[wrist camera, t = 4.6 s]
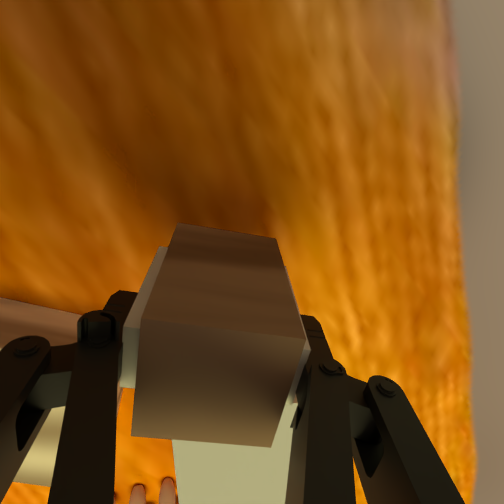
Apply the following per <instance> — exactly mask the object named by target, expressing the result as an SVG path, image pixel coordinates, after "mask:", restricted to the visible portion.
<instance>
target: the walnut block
mask: <svg viewBox="0 0 504 504" xmlns="http://www.w3.org/2000/svg"><path fill="white" fill-rule="evenodd" d="M305 342H306V336H305V333H304V330H303V326H302V323H301V320H300V317H299V313H298V310H297V307H296V303H295V300H294V297H293V293H292V290H291V287H290V283H289V280H288V277H287V273H286V270H285V267H284V264H283V260H282V257H281V254H280V250H279V247H278V244H277V240H276V239H275V238H269V237H263V236H257V235H251V234H245V233H239V232H233V231H227V230H220V229H214V228H208V227H202V226H196V225H190V224H184V223H178V224H177V226H176V229H175V231H174V234H173V237H172V239H171V242H170V244H169V247H168V250H167V252H166V255H165V257H164V260H163V262H162V265H161V268H160V270H159V273H158V275H157V278H156V281H155V283H154V286H153V288H152V291H151V293H150V296H149V299H148V301H147V304H146V306H145V309H144V312H143V314H142V317H141V323H140V335H139V347H138V359H137V370H136V382H135V394H134V406H133V418H132V430H131V436H137V437H149V438H160V439H172V440H184V441H196V442H208V443H220V444H232V445H244V446H256V447H268V448H271V446H272V443H273V440H274V437H275V434H276V431H277V428H278V425H279V422H280V419H281V416H282V413H283V410H284V407H285V403H286V400H287V397H288V394H289V391H290V388H291V385H292V382H293V379H294V376H295V373H296V370H297V367H298V364H299V361H300V358H301V354H302V351H303V348H304V345H305Z"/></svg>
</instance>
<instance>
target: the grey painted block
mask: <svg viewBox="0 0 504 504" xmlns="http://www.w3.org/2000/svg"><path fill="white" fill-rule="evenodd" d="M297 405H298V402H297V397H296V395H295V398H294V401H293V404H292V405H288V404H285V407H284V410H283V413H282V416H281V419H280V422H279V425H278V428H277V431H276V434H275V437H274V440H273V443H272V446H271V448H268V447H256V446H244V445H232V444H220V443H208V442H196V441H184V440H172V445H173V454H174V464H175V473H176V482H177V491H178V500H179V504H285V498H286V489H287V479H288V470H289V461H290V452H291V443H292V433H293V428H290V425H291V422H292V420H293V417H294V414H295V411H296V408H297Z"/></svg>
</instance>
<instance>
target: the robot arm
mask: <svg viewBox="0 0 504 504" xmlns="http://www.w3.org/2000/svg"><path fill="white" fill-rule="evenodd" d="M167 250H168V247H162V246H159V248H158V251H157V253H156V255H155V257H154V259H153V262H152V264H151V266H150V268H149V270H148V273H147V275H146V277H145V279H144V281H143V284H142V286H141V288H140V290H139V292H138V293H137V292H129V291H122V290H119V291H118V292H116V293H115V294H113V295H111V297H110V298H109V300H108V302H107V304H106V305H105V307H104V309H103V310H97V311H91V312H88V313H85V314H84V315H82V316H81V317H80V318H79V320H78V321H77V342H75V343H72V344H67V345H59V346H50V343H49V341H48V340H47V339H46V338H44V337H41V336H37V335H30V336H23V337H19V338H16V339H14V340H12V341H10V342H9V343H8V344H6V345H5V346H4V347H3V348H2V349H1V351H0V504H1V502H2V500H3V498H4V496H5V494H6V493H7V491H8V489H9V487H10V485H11V483H12V482H13V480H14V478H15V476H16V474H17V472H18V470H19V469H20V467H21V465H22V463H23V461H24V459H25V458H26V456H27V454H28V452H29V450H30V448H31V446H32V445H33V443H34V441H35V439H36V437H37V435H38V433H39V432H40V430H41V428H42V426H43V424H44V422H45V421H46V419H47V417H48V415H49V413H50V411H51V409H52V408H57V407H63V406H65V411H64V417H63V422H62V427H61V433H60V438H59V444H58V449H57V455H56V460H55V466H54V471H53V477H52V482H51V487H50V493H49V498H48V504H114V481H115V450H116V419H117V388H118V382H119V379H120V386H119V387H126V388H135V382H136V370H137V359H138V347H139V335H140V323H141V317H142V314H143V312H144V309H145V306H146V304H147V301H148V299H149V296H150V293H151V291H152V288H153V286H154V283H155V281H156V278H157V275H158V273H159V270H160V268H161V265H162V262H163V260H164V257H165V255H166V252H167ZM284 267H285V270H286V273H287V269H286V266H284ZM287 277H288V280H289V283H290V279H289V276H288V273H287ZM290 287H291V290H292V293H293V289H292V286H291V283H290ZM293 297H294V300H295V303H296V299H295V296H294V293H293ZM296 307H297V310H298V313H299V309H298V306H297V303H296ZM299 317H300V320H301V323H302V326H303V330H304V333H305V336H306V342H305V345H304V348H303V351H302V354H301V358H300V361H299V364H298V367H297V370H296V373H295V376H294V379H293V382H292V385H291V388H290V391H289V394H288V397H287V400H286V403H285V404H288V405H292V404H293V401H294V398H295V395H296V397H297V402H298V405H297V408H296V411H295V414H294V417H293V420H292V422H291V425H290V428H293V433H292V443H291V452H290V461H289V470H288V479H287V489H286V498H285V504H356V497H355V483H354V469H353V458H354V462H355V465H356V468H357V471H358V474H359V477H360V481H361V484H362V487H363V490H364V493H365V497H366V500H367V503H368V504H465V503H464V501H463V499H462V497H461V495H460V494H459V492H458V490H457V488H456V486H455V484H454V483H453V481H452V479H451V477H450V475H449V474H448V472H447V470H446V468H445V466H444V464H443V463H442V461H441V459H440V457H439V455H438V454H437V452H436V450H435V448H434V446H433V444H432V443H431V441H430V439H429V437H428V435H427V433H426V432H425V430H424V428H423V426H422V424H421V423H420V421H419V419H418V417H417V415H416V413H415V412H414V410H413V408H412V406H411V404H410V403H409V401H408V399H407V397H406V395H405V393H404V392H403V390H402V389H401V388H400V386H399V385H398V384H396V383H395V382H394V381H393V380H391V379H389V378H387V377H384V376H380V375H377V376H372V377H370V378H369V380H368V383H366V382H364V381H361V380H358V379H355V378H353V377H351V376H348V375H347V373H346V370H345V368H344V367H343V366H342V365H341V364H340V363H339V362H338V361H336V360H334V359H333V356H332V354H331V351H330V348H329V346H328V343H327V340H326V339H325V335H324V333H323V330H322V327H321V324H320V323H319V322H318V321H317V320H316V319H315V318H314V316H307V315H300V313H299Z"/></svg>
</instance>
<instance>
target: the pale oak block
mask: <svg viewBox="0 0 504 504" xmlns="http://www.w3.org/2000/svg"><path fill="white" fill-rule="evenodd" d="M81 316H82V315H79V314H75V313H70V312H65V311H61V310H56V309H51V308H47V307H42V306H38V305H33V304H28V303H24V302H19V301H15V300H10V299H5V298H1V297H0V351H1V349H2V348H3V347H4V346H5V345H6V344H8V343H9V342H10V341H12V340H14V339H16V338H19V337H23V336H30V335H37V336H41V337H44V338H46V339H47V340H48V341H49V343H50V346H59V345H67V344H72V343H75V342H77V321H78V320H79V318H80V317H81ZM119 386H120V379H119V382H118V388H117V414H118V410H119V405H120V400H121V396H122V391H123V387H119ZM64 411H65V406H63V407H57V408H52V409H51V411H50V413H49V415H48V417H47V419H46V421H45V422H44V424H43V426H42V428H41V430H40V432H39V433H38V435H37V437H36V439H35V441H34V443H33V445H32V446H31V448H30V450H29V452H28V454H27V456H26V458H25V459H24V461H23V463H22V465H21V467H20V469H19V470H18V472H17V474H16V476H15V478H14V480H13V482H20V483H27V484H34V485H41V486H48V487H51V482H52V477H53V471H54V466H55V460H56V455H57V449H58V444H59V438H60V433H61V427H62V422H63V417H64Z"/></svg>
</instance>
